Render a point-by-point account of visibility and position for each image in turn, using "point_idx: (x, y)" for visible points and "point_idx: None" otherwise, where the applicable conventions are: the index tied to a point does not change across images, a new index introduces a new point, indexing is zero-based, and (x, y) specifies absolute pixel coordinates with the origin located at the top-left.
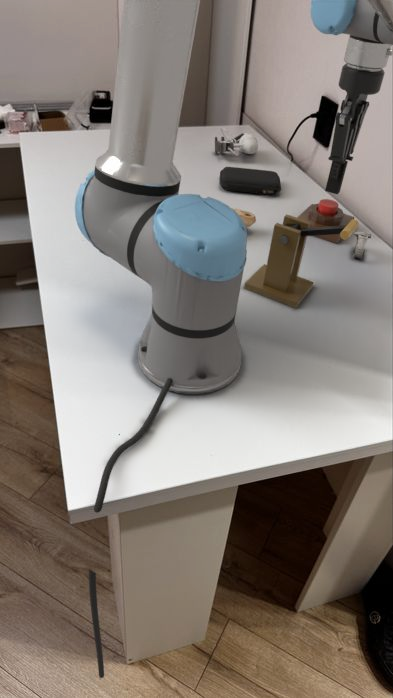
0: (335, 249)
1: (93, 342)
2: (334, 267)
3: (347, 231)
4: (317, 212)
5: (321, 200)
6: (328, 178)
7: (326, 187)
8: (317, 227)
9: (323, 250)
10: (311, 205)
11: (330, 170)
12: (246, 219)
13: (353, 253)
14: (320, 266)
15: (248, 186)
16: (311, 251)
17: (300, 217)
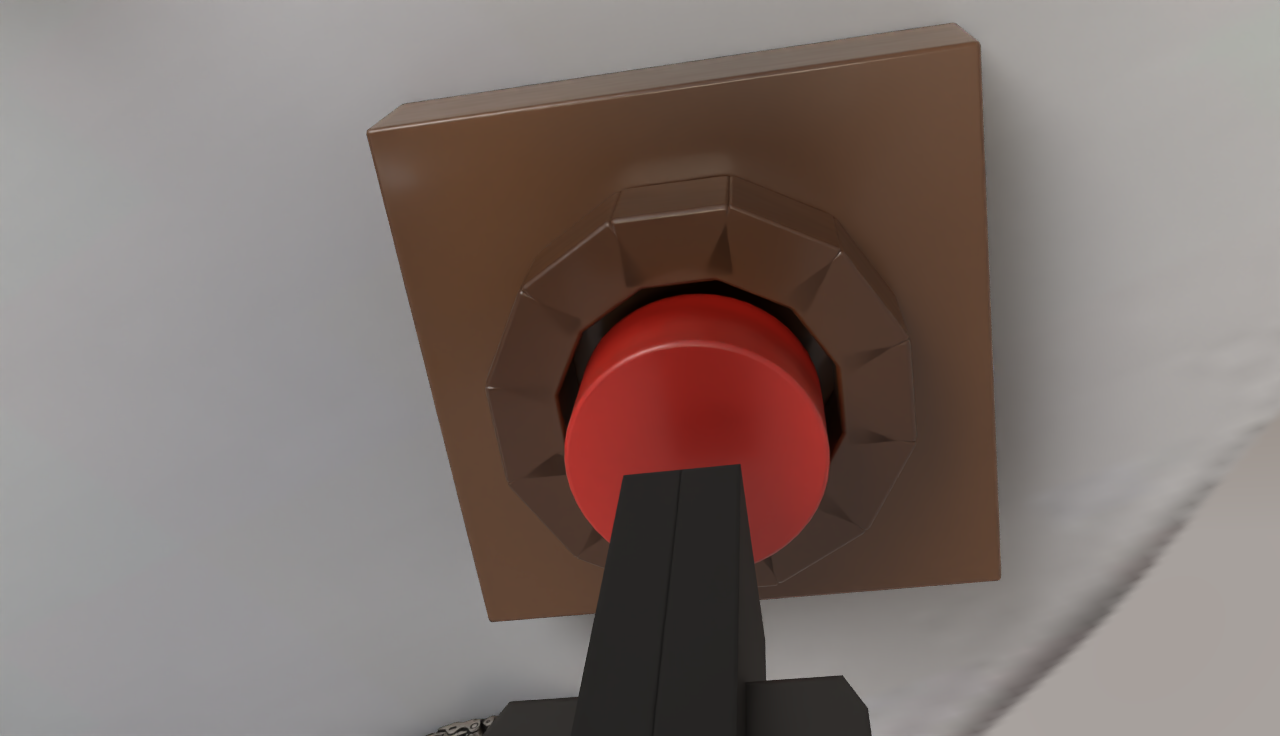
0: (407, 592)
1: None
2: (149, 695)
3: None
4: (543, 357)
5: (689, 355)
6: (600, 607)
7: (618, 517)
8: None
9: (298, 529)
10: (917, 66)
11: (578, 717)
12: None
13: (449, 731)
14: (60, 618)
15: None
16: (188, 464)
17: (470, 151)
